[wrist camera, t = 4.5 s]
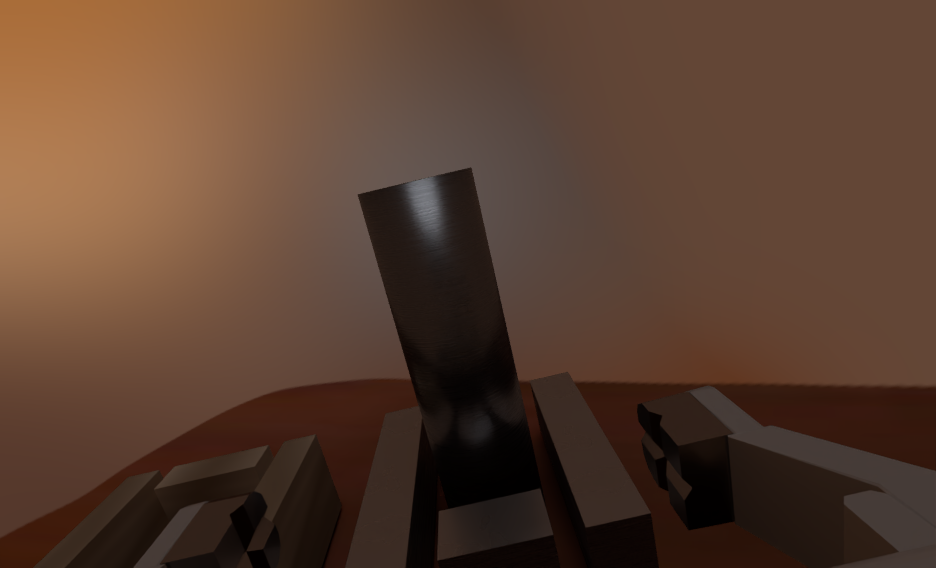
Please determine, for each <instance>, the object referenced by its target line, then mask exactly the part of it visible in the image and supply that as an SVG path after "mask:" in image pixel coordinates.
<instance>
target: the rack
mask: <svg viewBox="0 0 936 568" xmlns="http://www.w3.org/2000/svg"><path fill="white" fill-rule="evenodd" d="M254 491H256V492H258V493H261V494H262V496H263V498H264V500H265V502H266V504H267V506H268V508H267V511H266V513H265V516H264V517H265V518H267V519H268V520H270V521H271V522H273V523H274V524H275V525H276V528H277V530H278V533H279V538H280V544H281V547H280V556H279V562H278V565H277V567H276V568H322V565H323V562H324V559H325V555H326V552H327V549H328V546H329V543H330V540H331V537H332V534H333V531H334V528H335V524H336V521H337V518H338V515H339V512H340V509H341V506H342V505H341V502H340V499H339V497H338V494H337V491H336V488H335V486H334V483H333V480H332V477H331V475H330V472H329V469H328V466H327V464H326V461H325V458H324V455H323V453H322V450H321V447H320V444H319V442H318V439H317V436H316V435H311V436H307V437H303V438H298V439H294V440H290V441H285V442H284V443H283V445H282V446H281V448H280V450H279V451H278V453H277V455H276V456H275V458H274V457H273V455H272V452H271V450H270V447H269V445H268V446H263V447H259V448H255V449H250V450H246V451H241V452H237V453H233V454H228V455H224V456H220V457H215V458H211V459H206V460H202V461H198V462H193V463H189V464H185V465H180V466H176V467H174V468H173V469H172V470H171V471H170V472H169V474H168V475H167V476H166V477H165V478H164V479H163V477H162V475H161V473H160V471H159V470H158V471H154V472H150V473H145V474H141V475H136V476H132V477H128V478H127V479H126V480H125V481H124V482H123V483H122V484H121V485H120V486H119V487H118V488H116V489H115V490H114V491H113V492H112V493H111V494H110V495H109V496H108V497H107V498H106V499H105V500H104V501H103V502H102V503H101V504H100V505H99V506H98V507H97V508H95V509H94V510H93V511H92V512H91V513H90V514H89V515H88V516H87V517H86V518H85V519H84V520H83V521H82V522H81V523H80V524H79V525H78V526H77V527H76V528H75V529H73V530H72V531H71V532H70V533H69V534H68V535H67V536H66V537H65V538H64V539H63V540H62V541H61V542H60V543H59V544H58V545H57V546H56V547H55V548H54V549H52V550H51V551H50V552H49V553H48V554H47V555H46V556H45V557H44V558H43V559H42V560H41V561H40V562H39V563H38V564H37V565H36V566H35V567H34V568H134V566H135V565H136V564H137V563H138V561H139V560H140V559H141V558H142V556H143V555H144V554H145V553H146V551H147V550H148V549H149V548H150V546H151V545H152V544H153V543H154V541H155V540H156V539H157V538H158V536H159V535H160V534H161V533H162V531H163V530H164V529H165V528H166V526H167V525H168V524H169V523H170V521H171V520H172V519H173V518H174V516H175V515H176V514H177V513H178V511H179V510H180V509H182V508H184V507H186V506H188V505H192V504H197V503H201V502H205V501H211V500H215V499H220V498H225V497H229V496H234V495H239V494H244V493H249V492H254Z"/></svg>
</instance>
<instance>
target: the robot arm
mask: <svg viewBox="0 0 936 568" xmlns="http://www.w3.org/2000/svg"><path fill="white" fill-rule="evenodd" d="M637 413H638V420H639V423H640V424H641V426H642V427H643V428H644V430H645V431H646V433H645V435H644V437H643V438H642V440H641V441H642V446H643V452H644V456H645V459H646V462H647V465H648V468H649V470H650V472H651V474H652V476H653V478H654V480H655V481H656V483H657V484H658V486H659V487H660V488H662V489H664V490H666V491H668V492H669V498H670V504H671V505H672V507H673V508H674V510H675V511H676V513H677V514H678V516H679V517H680V519H681V520H682V521H683V523H684V524H685V526H686V527H687V529H688V530H693V529H698V528H704V527H709V526H714V525H719V524H724V523H729V522H735V524H736V525H738V526H740V527H741V528H743V529H745V530H747V531H748V532H750V533H752V534H753V535H755V536H757V537H758V538H760V539H762V540H763V541H765V542H767V543H769V544H770V545H772V546H774V547H775V548H777V549H779V550H780V551H782V552H784V553H785V554H787V555H789V556H790V557H792V558H794V559H796V560H797V561H799V562H801V563H802V564H804V565H806V566H807V567H809V568H936V471H933V470H929V469H926V468H922V467H919V466H915V465H912V464H908V463H904V462H901V461H897V460H894V459H890V458H886V457H883V456H879V455H876V454H872V453H868V452H865V451H861V450H858V449H854V448H850V447H847V446H843V445H840V444H836V443H833V442H829V441H825V440H822V439H818V438H815V437H811V436H807V435H804V434H800V433H797V432H793V431H789V430H786V429H782V428H779V427H775V426H767V427H763V426H762V425H760V424H759V423H758V422H757V421H755V420H754V419H753V418H752V417H750V416H749V415H748V414H747V413H745V412H744V411H743V410H742V409H740V408H739V407H738V406H737V405H735V404H734V403H733V402H732V401H730V400H729V399H728V398H727V397H725V396H724V395H723V394H722V393H720V392H719V391H718V390H716V389H715V388H714V387H711V386H705V387H702V388H698V389H694V390H690V391H687V392H684V393H680V394H676V395H672V396H668V397H664V398H660V399H656V400H652V401H648V402H644V403H640V404H638V408H637ZM267 508H268V506H267V504H266V502H265V500H264V498H263V496H262V494H261V493H258V492H256V491H254V492H249V493H244V494H239V495H234V496H229V497H225V498H220V499H215V500H211V501H205V502H201V503H197V504H192V505H188V506H186V507H184V508H182V509H180V510H179V511H178V513H177V514H176V515H175V516H174V518H173V519H172V520H171V521H170V523H169V524H168V525H167V526H166V528H165V529H164V530H163V531H162V533H161V534H160V535H159V536H158V538H157V539H156V540H155V541H154V543H153V544H152V545H151V546H150V548H149V549H148V550H147V551H146V553H145V554H144V555H143V556H142V558H141V559H140V560H139V561H138V563H137V564H136V565H135V566H134V568H276V567H277V565H278V562H279V556H280V547H281V544H280V538H279V533H278V530H277V528H276V525H275V524H274V523H273V522H271V521H270V520H268V519H267V518H265V517H264V516H265V513H266V511H267Z"/></svg>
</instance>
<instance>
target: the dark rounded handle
mask: <svg viewBox="0 0 936 568" xmlns="http://www.w3.org/2000/svg"><path fill="white" fill-rule="evenodd" d="M358 197H359V201H360V204H361V208H362V211H363V215H364V218H365V222H366V225H367V228H368V232H369V235H370V239H371V242H372V246H373V249H374V253H375V256H376V259H377V263H378V267H379V270H380V273H381V277H382V280H383V284H384V287H385V291H386V294H387V298H388V301H389V304H390V308H391V312H392V315H393V318H394V322H395V325H396V329H397V332H398V336H399V339H400V342H401V346H402V350H403V353H404V356H405V360H406V363H407V367H408V370H409V374H410V377H411V381H412V384H413V388H414V391H415V395H416V398H417V401H418V405H419V408H420V412H421V415H422V419H423V422H424V426H425V429H426V433H427V436H428V440H429V443H430V446H431V450H432V453H433V457H434V460H435V464H436V467H437V471H438V474H439V478H440V481H441V484H442V488H443V491H444V495H445V498H446V502H447V505H448V509H451V508H456V507H460V506H465V505H469V504H473V503H478V502H482V501H487V500H491V499H496V498H500V497H505V496H509V495H514V494H518V493H523V492H527V491H531V490H536V489H540V490H541V493H542V497H543V500H544V504H545V499H544V495H543V490H542V486H541V481H540V477H539V472H538V468H537V463H536V458H535V454H534V449H533V445H532V440H531V436H530V431H529V427H528V422H527V418H526V413H525V409H524V404H523V400H522V395H521V390H520V386H519V381H518V378H517V373H516V368H515V364H514V359H513V354H512V350H511V345H510V341H509V336H508V332H507V327H506V323H505V318H504V314H503V309H502V304H501V301H500V296H499V291H498V286H497V282H496V277H495V273H494V268H493V264H492V259H491V255H490V250H489V246H488V241H487V237H486V232H485V227H484V223H483V218H482V214H481V209H480V205H479V200H478V196H477V191H476V186H475V182H474V177H473V173H472V168H467V169H462V170H458V171H454V172H450V173H445V174H441V175H437V176H433V177H428V178H424V179H420V180H416V181H412V182H407V183H403V184H399V185H395V186H391V187H387V188H383V189H379V190H374V191H370V192H366V193H362V194H358ZM545 507H546V504H545Z"/></svg>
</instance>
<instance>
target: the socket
mask: <svg viewBox="0 0 936 568" xmlns="http://www.w3.org/2000/svg"><path fill="white" fill-rule="evenodd" d="M530 384H531V389H532V394H533V398H534V403H535V408H536V412H537V417H538V422H539V427H540V431H541V434H542V437H543V440H544V443H545V445H546V448H547V451H548V454H549V457H550V460H551V463H552V465H553V468H554V471H555V474H556V477H557V480H558V483H559V486H560V488H561V491H562V494H563V497H564V500H565V503H566V506H567V508H568V511H569V514H570V517H571V520H572V523H573V526H574V528H575V531H576V534H577V537H578V540H579V543H580V546H581V549H582V551H583V554H584V557H585V560H586V563H587V566H588V568H659V564H658V557H657V551H656V544H655V537H654V530H653V524H652V517H651V512H650V511H649V509H648V507H647V506H646V504H645V502H644V500H643V499H642V497H641V495H640V494H639V492H638V490H637V489H636V487H635V485H634V483H633V482H632V480H631V478H630V477H629V475H628V473H627V472H626V470H625V468H624V466H623V465H622V463H621V461H620V460H619V458H618V456H617V455H616V453H615V451H614V449H613V448H612V446H611V444H610V443H609V441H608V439H607V438H606V436H605V434H604V432H603V431H602V429H601V427H600V426H599V424H598V422H597V421H596V419H595V417H594V415H593V414H592V412H591V410H590V409H589V407H588V405H587V404H586V402H585V400H584V398H583V397H582V395H581V393H580V392H579V390H578V388H577V387H576V385H575V383H574V382H573V380H572V378H571V376H570V375H569V373H568V372H566V373H561V374H557V375H553V376H548V377H544V378H539V379H535V380H531V381H530ZM436 479H437V467H436V464H435V460H434V457H433V453H432V450H431V446H430V443H429V440H428V436H427V433H426V429H425V426H424V422H423V419H422V415H421V412H420V408H419V406H417V407H413V408H408V409H404V410H400V411H395V412H391V413H386V415H385V418H384V422H383V426H382V430H381V434H380V437H379V441H378V445H377V449H376V453H375V456H374V460H373V464H372V468H371V472H370V475H369V479H368V483H367V487H366V491H365V494H364V498H363V502H362V506H361V510H360V513H359V517H358V521H357V525H356V529H355V532H354V536H353V540H352V544H351V548H350V551H349V555H348V559H347V563H346V567H345V568H433V550H434V526H435V503H436ZM437 561H438V564H439V568H561V567H560V563H559V558H558V554H557V549H556V544H555V540H554V535H553V532H552V528H551V525H550V521H549V518H548V514H547V511H546V507H545V504H544V500H543V497H542V493H541V490H540V489H536V490H531V491H527V492H523V493H518V494H514V495H509V496H505V497H500V498H496V499H491V500H487V501H482V502H478V503H473V504H469V505H465V506H460V507H456V508H451V509H447V510H442V511H439V524H438V555H437Z"/></svg>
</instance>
